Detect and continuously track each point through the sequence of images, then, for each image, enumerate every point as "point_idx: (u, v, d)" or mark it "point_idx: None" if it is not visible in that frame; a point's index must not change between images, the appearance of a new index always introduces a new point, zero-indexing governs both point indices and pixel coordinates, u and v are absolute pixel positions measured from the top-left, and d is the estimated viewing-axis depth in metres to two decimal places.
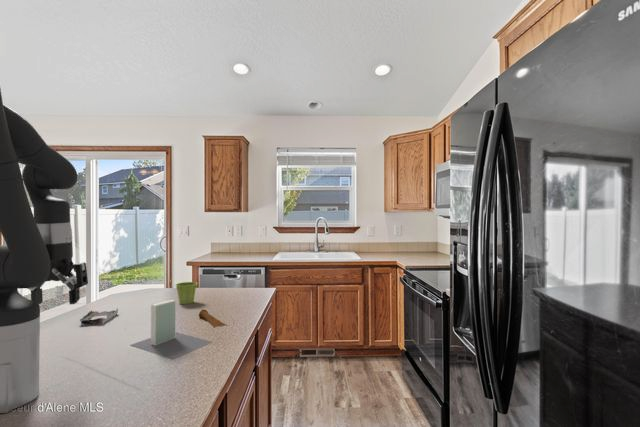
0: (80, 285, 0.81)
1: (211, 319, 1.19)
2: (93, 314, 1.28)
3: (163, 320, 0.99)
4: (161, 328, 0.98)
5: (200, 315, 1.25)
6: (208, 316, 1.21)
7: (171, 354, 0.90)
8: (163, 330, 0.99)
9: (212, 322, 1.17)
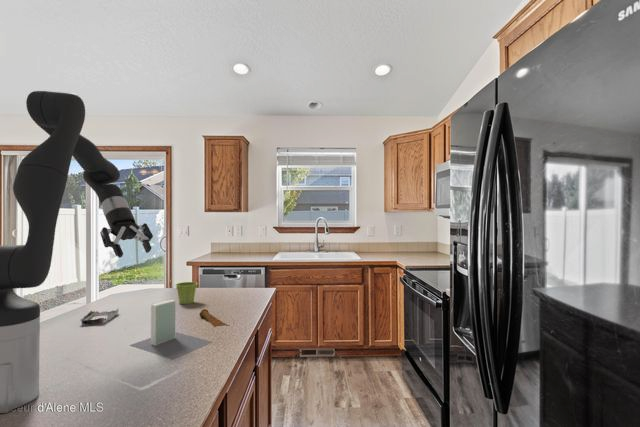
0: (152, 236, 1.09)
1: (212, 319, 1.19)
2: (94, 314, 1.28)
3: (163, 320, 0.99)
4: (161, 328, 0.98)
5: (201, 315, 1.25)
6: (209, 316, 1.22)
7: (171, 354, 0.90)
8: (163, 330, 0.99)
9: (213, 322, 1.17)
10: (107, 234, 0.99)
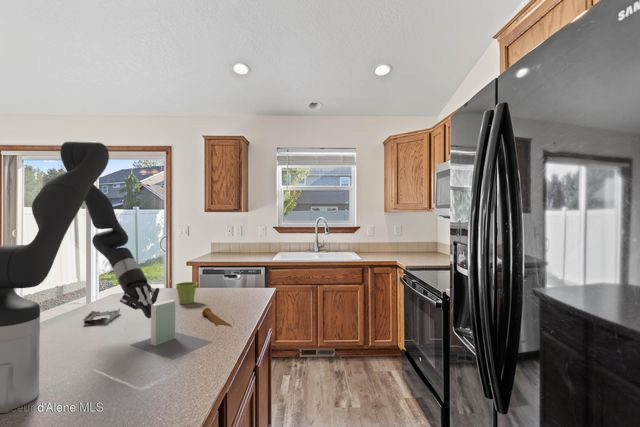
0: (155, 299, 1.07)
1: (214, 318, 1.21)
2: (95, 314, 1.28)
3: (163, 320, 0.99)
4: (161, 328, 0.98)
5: (203, 313, 1.26)
6: (211, 315, 1.23)
7: (171, 354, 0.90)
8: (163, 330, 0.99)
9: (214, 321, 1.18)
10: (131, 299, 1.02)
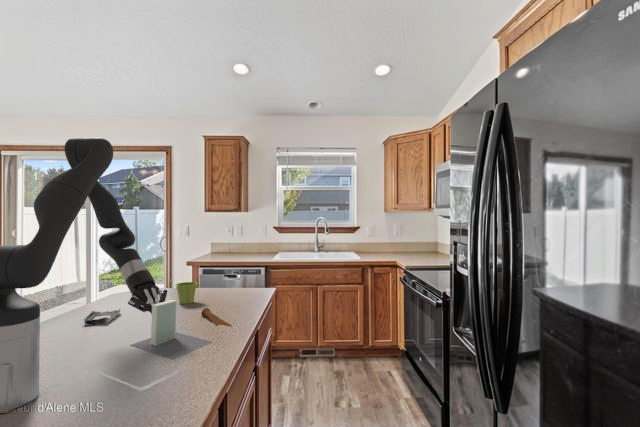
0: (163, 301, 1.05)
1: (213, 317, 1.21)
2: (95, 314, 1.28)
3: (164, 320, 0.99)
4: (161, 328, 0.98)
5: (203, 314, 1.26)
6: (210, 315, 1.23)
7: (171, 354, 0.90)
8: (163, 330, 0.99)
9: (214, 320, 1.18)
10: (140, 301, 0.99)
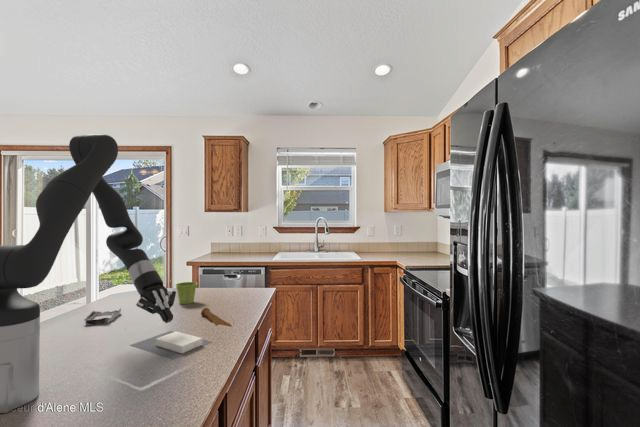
0: (172, 303, 1.03)
1: (213, 317, 1.21)
2: (96, 314, 1.28)
3: None
4: None
5: (202, 313, 1.27)
6: (210, 314, 1.23)
7: (171, 354, 0.90)
8: None
9: (214, 320, 1.19)
10: (148, 302, 0.97)
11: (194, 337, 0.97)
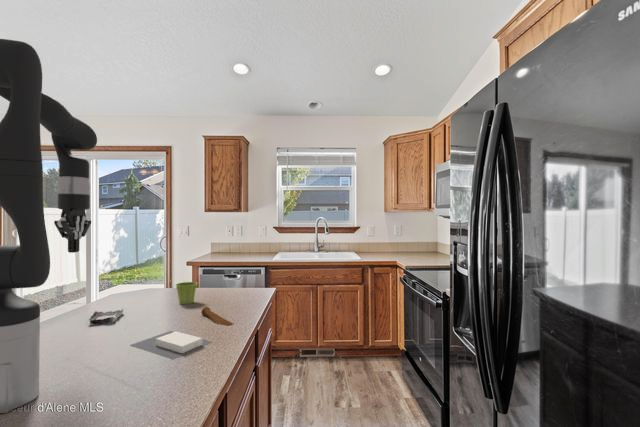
0: (84, 234, 0.97)
1: (214, 316, 1.22)
2: (98, 314, 1.28)
3: None
4: None
5: (203, 312, 1.28)
6: (211, 313, 1.25)
7: (171, 354, 0.90)
8: None
9: (215, 319, 1.20)
10: (68, 228, 0.90)
11: (194, 337, 0.97)
